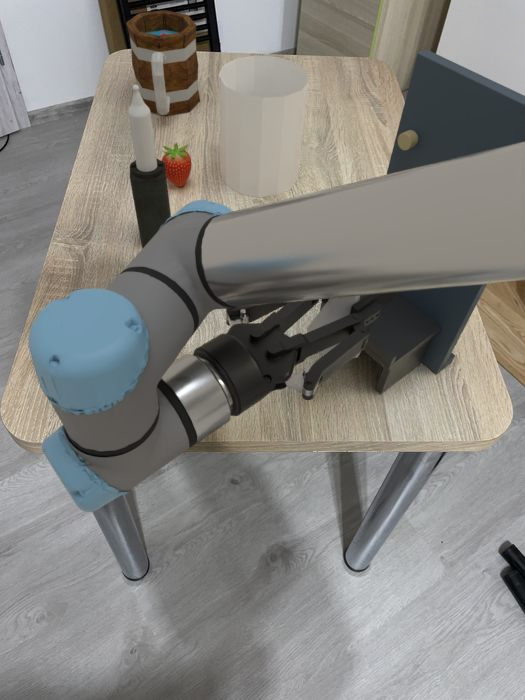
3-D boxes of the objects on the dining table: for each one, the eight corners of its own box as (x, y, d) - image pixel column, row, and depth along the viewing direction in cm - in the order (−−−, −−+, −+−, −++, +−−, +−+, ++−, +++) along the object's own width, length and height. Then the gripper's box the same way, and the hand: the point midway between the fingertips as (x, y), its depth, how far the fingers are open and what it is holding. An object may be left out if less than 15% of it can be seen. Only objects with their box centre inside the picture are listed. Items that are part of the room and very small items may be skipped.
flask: (300, 353, 61) (310, 291, 53) (311, 308, 66) (322, 245, 58) (363, 366, 60) (383, 306, 53) (370, 320, 65) (389, 258, 57)
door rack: (387, 413, 69) (493, 163, 41) (303, 337, 76) (344, 80, 48) (452, 362, 75) (585, 111, 46) (368, 295, 82) (439, 44, 54)
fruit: (181, 197, 95) (177, 156, 89) (158, 187, 97) (152, 146, 90) (199, 182, 98) (196, 141, 92) (176, 172, 100) (172, 132, 93)
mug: (140, 84, 120) (130, 8, 108) (201, 85, 120) (198, 11, 109) (129, 131, 108) (117, 52, 96) (197, 132, 108) (193, 54, 97)
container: (297, 154, 105) (308, 58, 91) (298, 199, 96) (310, 100, 82) (223, 150, 105) (222, 53, 91) (217, 195, 96) (215, 95, 82)
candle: (173, 248, 87) (156, 94, 67) (141, 249, 86) (114, 95, 67) (172, 227, 90) (155, 75, 70) (141, 229, 89) (115, 75, 70)
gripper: (166, 355, 58) (324, 264, 67) (265, 466, 50) (426, 345, 60) (158, 307, 52) (332, 215, 62) (270, 425, 44) (447, 298, 54)
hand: (378, 279), depth 61 cm, fingers closed on flask, 3 cm apart
